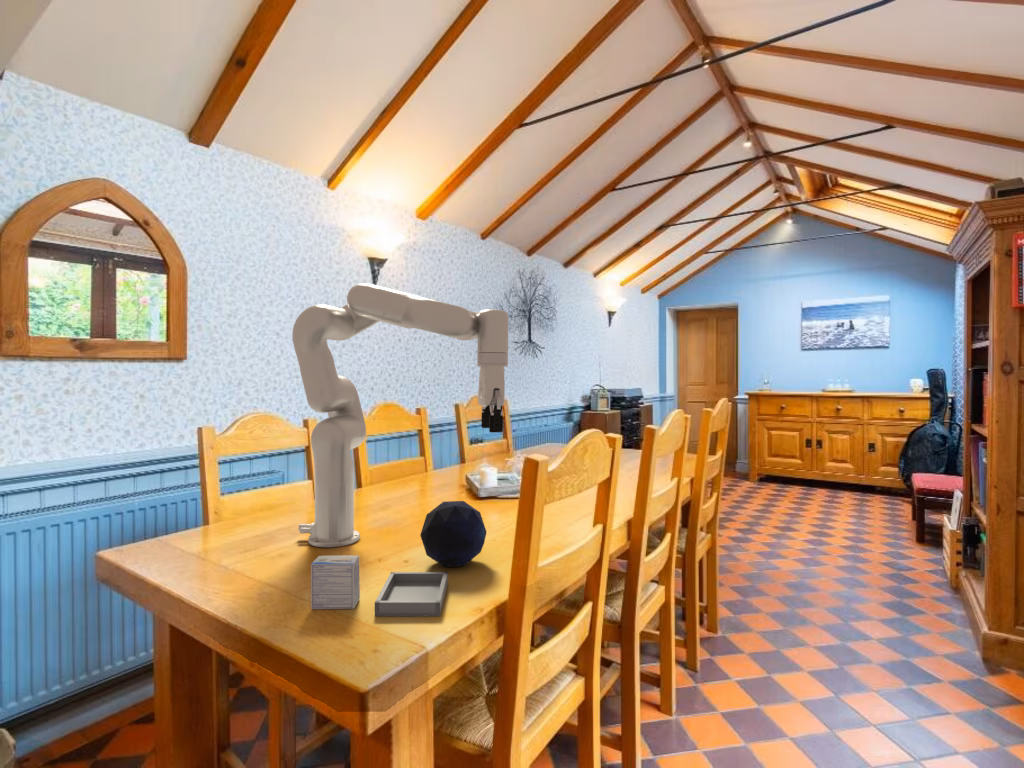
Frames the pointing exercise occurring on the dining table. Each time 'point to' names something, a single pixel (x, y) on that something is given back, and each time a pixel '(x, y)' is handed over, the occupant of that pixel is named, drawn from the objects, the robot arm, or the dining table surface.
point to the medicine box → (335, 582)
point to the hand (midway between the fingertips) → (491, 429)
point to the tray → (412, 594)
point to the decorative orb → (453, 533)
